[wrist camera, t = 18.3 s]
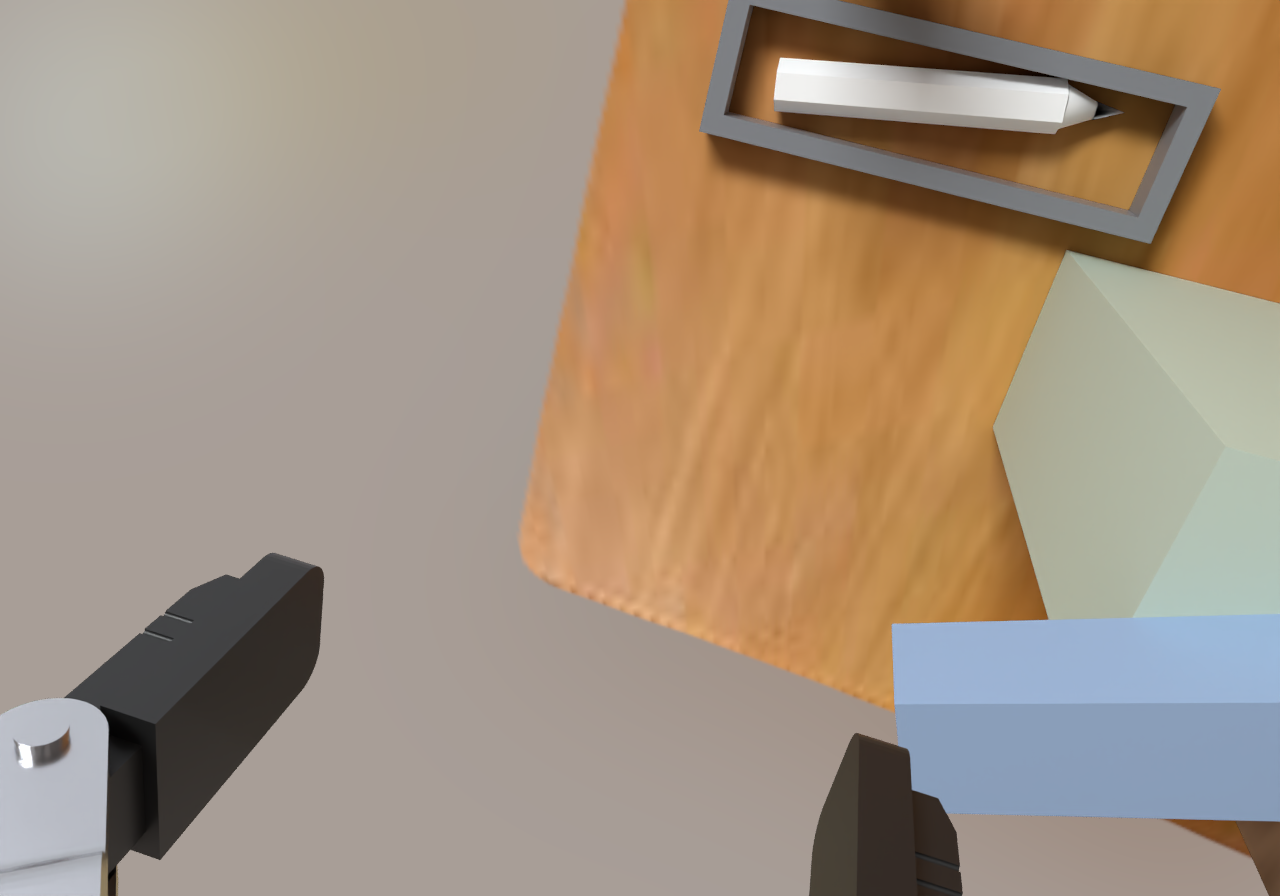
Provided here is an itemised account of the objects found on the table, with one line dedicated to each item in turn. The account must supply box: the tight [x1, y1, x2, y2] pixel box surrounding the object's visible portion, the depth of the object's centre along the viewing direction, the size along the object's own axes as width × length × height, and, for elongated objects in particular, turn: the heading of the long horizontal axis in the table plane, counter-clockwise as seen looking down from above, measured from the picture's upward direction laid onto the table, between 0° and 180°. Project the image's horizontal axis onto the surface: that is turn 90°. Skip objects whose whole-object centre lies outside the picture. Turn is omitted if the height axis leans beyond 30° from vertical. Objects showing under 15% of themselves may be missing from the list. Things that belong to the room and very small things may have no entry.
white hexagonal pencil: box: [774, 58, 1124, 134], centre depth 45 cm, size 3×2×16 cm
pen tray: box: [699, 0, 1221, 244], centre depth 45 cm, size 7×22×2 cm, turn 77°
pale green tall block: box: [993, 250, 1280, 620], centre depth 39 cm, size 10×12×24 cm
